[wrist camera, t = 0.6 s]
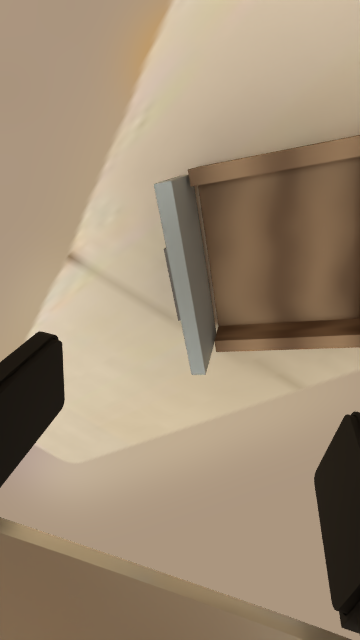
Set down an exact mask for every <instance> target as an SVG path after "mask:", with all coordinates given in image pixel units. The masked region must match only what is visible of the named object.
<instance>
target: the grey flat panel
mask: <svg viewBox="0 0 360 640" xmlns="http://www.w3.org/2000/svg"><path fill="white" fill-rule="evenodd" d="M154 188H155V193H156V198H157V203H158V208H159V213H160V218H161V223H162V228H163V233H164V238H165V243H166V248H165V249H164V252H165V257H166V262H167V267H168V272H169V277H170V282H171V287H172V291H173V296H174V301H175V306H176V311H177V316H178V321H179V320H181V324H182V329H183V334H184V339H185V344H186V349H187V354H188V359H189V364H190V369H191V374H192V375H206V371H207V368H208V364H209V360H210V356H211V353H212V349H213V345H214V341H215V338H216V328H215V321H214V315H213V308H212V301H211V295H210V288H209V281H208V275H207V268H206V262H205V255H204V248H203V242H202V235H201V229H200V222H199V215H198V209H197V202H196V195H195V189H194V186H190V179H189V174H188V175H183V176H178V177H175V178H171V179H168V180H165V181H162V182H159V183H156V184H154Z"/></svg>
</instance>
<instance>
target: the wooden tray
mask: <svg viewBox="0 0 360 640" xmlns="http://www.w3.org/2000/svg"><path fill="white" fill-rule="evenodd" d="M188 173H189V179H190V186H197V185H198V189H199V196H200V202H201V209H202V216H203V223H204V230H205V237H206V243H207V250H208V257H209V264H210V271H211V278H212V284H213V291H214V298H215V305H216V312H217V319H218V325H219V326H218V330H217V334H216V338H215V347H216V352H229V351H259V350H289V349H319V348H349V347H360V135H358V136H353V137H348V138H343V139H338V140H332V141H327V142H322V143H317V144H312V145H307V146H302V147H297V148H292V149H286V150H281V151H276V152H271V153H266V154H261V155H256V156H251V157H246V158H241V159H235V160H230V161H225V162H220V163H215V164H210V165H205V166H200V167H196V168H192V169H188Z"/></svg>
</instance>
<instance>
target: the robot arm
mask: <svg viewBox="0 0 360 640" xmlns="http://www.w3.org/2000/svg"><path fill="white" fill-rule="evenodd" d="M64 400H65V398H64V375H63V352H62V342H61V341H59V340H58V337H57V336H56V335H53V334H49V333H45V332H38V333H36V334H35V335H34V336H32V337H31V338H30V339H29V340H27V341H26V342H25V343H24V344H22V345H21V346H20V347H19V348H18V349H16V350H15V351H14V352H12V353H11V354H10V355H9V356H7V357H6V358H5V359H4V360H2V361H1V362H0V487H1V486H2V485H3V483H4V482H5V481H6V480H7V478H8V477H9V476H10V474H11V473H12V472H13V471H14V469H15V468H16V467H17V466H18V464H19V463H20V462H21V460H22V459H23V458H24V457H25V455H26V454H27V453H28V452H29V450H30V449H31V448H32V446H33V445H34V444H35V443H36V441H37V440H38V439H39V437H40V436H41V435H42V434H43V432H44V431H45V430H46V429H47V427H48V426H49V425H50V423H51V422H52V421H53V420H54V418H55V417H56V416H57V415H58V413H59V412H60V411H61V409H62V407H63V405H64ZM314 482H315V490H316V497H317V504H318V511H319V518H320V524H321V532H322V539H323V545H324V552H325V559H326V565H327V572H328V580H329V587H330V593H331V600H332V604H333V607H334V609H335V610H336V611H339V614H340V620H341V626H342V628H345V629H348V630H351V631H353V632H356V633H359V634H360V413H359V412H353V413H352V414H351V415H345V417H344V418H343V420H342V422H341V424H340V426H339V428H338V430H337V432H336V433H335V435H334V437H333V439H332V441H331V443H330V445H329V447H328V449H327V451H326V453H325V455H324V457H323V458H322V460H321V462H320V464H319V466H318V468H317V470H316V473H315V477H314ZM0 640H351V639H348V638H346V637H343V636H340V635H338V634H335V633H332V632H329V631H327V630H324V629H321V628H319V627H316V626H313V625H310V624H308V623H305V622H302V621H300V620H297V619H294V618H291V617H289V616H286V615H283V614H280V613H277V612H275V611H272V610H269V609H266V608H263V607H260V606H257V605H255V604H252V603H248V602H246V601H243V600H240V599H237V598H235V597H232V596H229V595H226V594H223V593H220V592H217V591H214V590H211V589H209V588H206V587H203V586H200V585H197V584H194V583H191V582H188V581H186V580H183V579H180V578H177V577H174V576H171V575H168V574H165V573H162V572H159V571H157V570H153V569H151V568H148V567H145V566H142V565H139V564H136V563H133V562H131V561H127V560H125V559H122V558H119V557H116V556H113V555H110V554H107V553H104V552H101V551H98V550H95V549H93V548H89V547H87V546H84V545H81V544H78V543H75V542H72V541H69V540H66V539H63V538H60V537H57V536H54V535H51V534H48V533H45V532H42V531H39V530H36V529H33V528H30V527H27V526H24V525H21V524H19V523H15V522H12V521H10V520H7V519H4V518H1V517H0Z"/></svg>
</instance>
